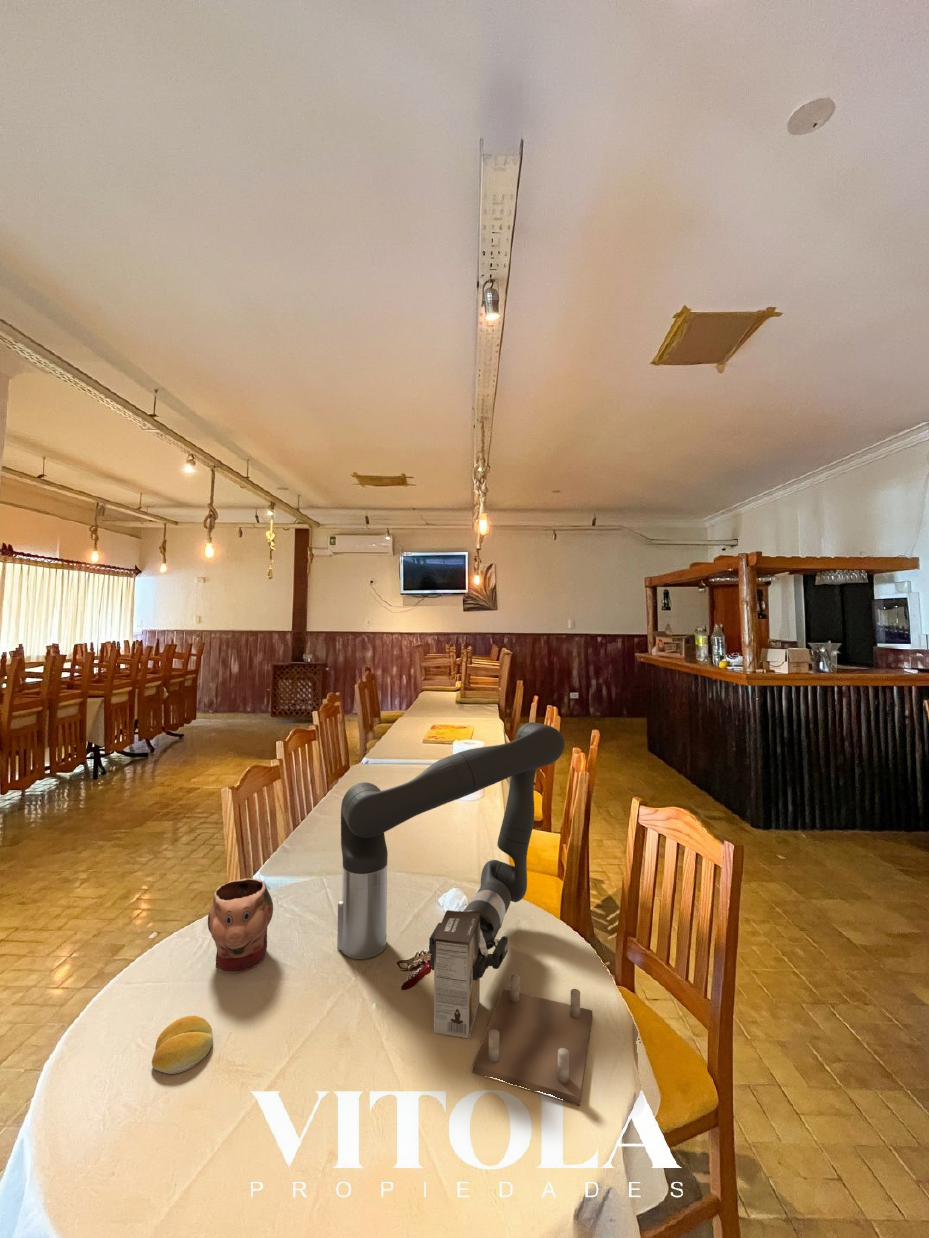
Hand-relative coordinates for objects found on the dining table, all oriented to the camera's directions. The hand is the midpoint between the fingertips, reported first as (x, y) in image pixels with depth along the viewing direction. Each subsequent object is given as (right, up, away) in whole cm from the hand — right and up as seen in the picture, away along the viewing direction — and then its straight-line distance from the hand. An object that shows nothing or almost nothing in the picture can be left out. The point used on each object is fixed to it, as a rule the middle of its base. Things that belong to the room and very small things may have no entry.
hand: (453, 969), depth 91 cm
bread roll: (-43, -9, -6) cm, 44 cm away
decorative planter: (-44, -9, +18) cm, 48 cm away
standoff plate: (+13, -10, -3) cm, 17 cm away
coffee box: (+1, -10, +2) cm, 10 cm away
